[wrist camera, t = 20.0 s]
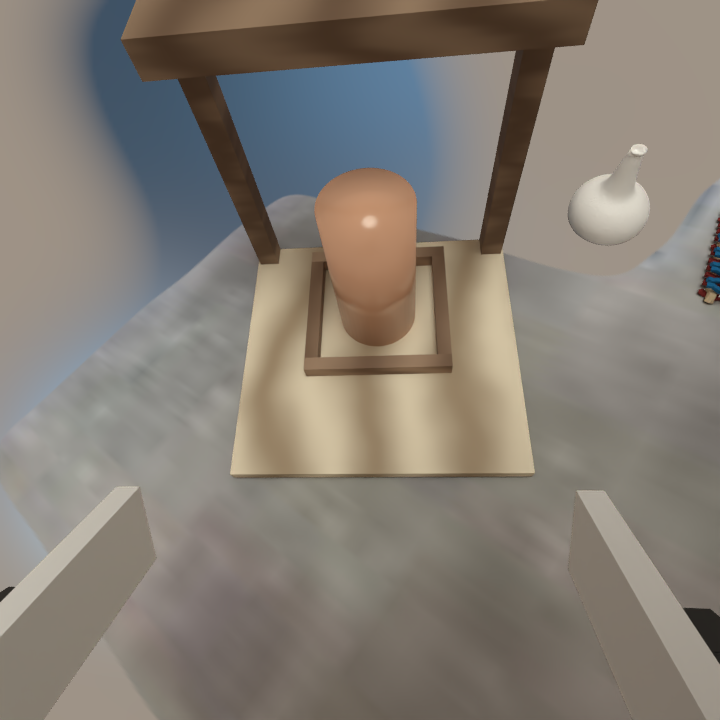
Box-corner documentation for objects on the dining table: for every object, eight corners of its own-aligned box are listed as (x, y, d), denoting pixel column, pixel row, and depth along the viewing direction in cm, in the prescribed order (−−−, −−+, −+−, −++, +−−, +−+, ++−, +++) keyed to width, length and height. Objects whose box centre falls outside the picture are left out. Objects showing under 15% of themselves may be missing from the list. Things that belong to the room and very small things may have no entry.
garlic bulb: (585, 190, 44) (609, 109, 38) (655, 214, 42) (694, 131, 35) (551, 234, 43) (570, 158, 36) (622, 262, 40) (657, 185, 33)
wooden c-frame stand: (498, 246, 42) (577, -66, 22) (531, 476, 33) (710, 297, 13) (263, 257, 44) (144, -21, 24) (234, 477, 35) (7, 323, 15)
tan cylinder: (414, 281, 40) (415, 164, 29) (416, 345, 37) (418, 242, 26) (342, 284, 40) (317, 171, 30) (339, 347, 38) (311, 247, 27)
